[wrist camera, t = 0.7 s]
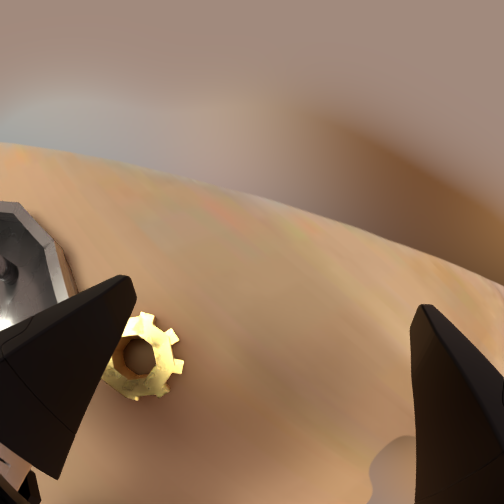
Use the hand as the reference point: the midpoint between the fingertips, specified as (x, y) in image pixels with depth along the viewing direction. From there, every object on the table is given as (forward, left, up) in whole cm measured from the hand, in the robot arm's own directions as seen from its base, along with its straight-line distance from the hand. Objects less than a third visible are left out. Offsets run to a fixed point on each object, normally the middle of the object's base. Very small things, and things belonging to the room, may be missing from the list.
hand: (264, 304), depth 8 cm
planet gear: (-4, +3, -14) cm, 15 cm away
